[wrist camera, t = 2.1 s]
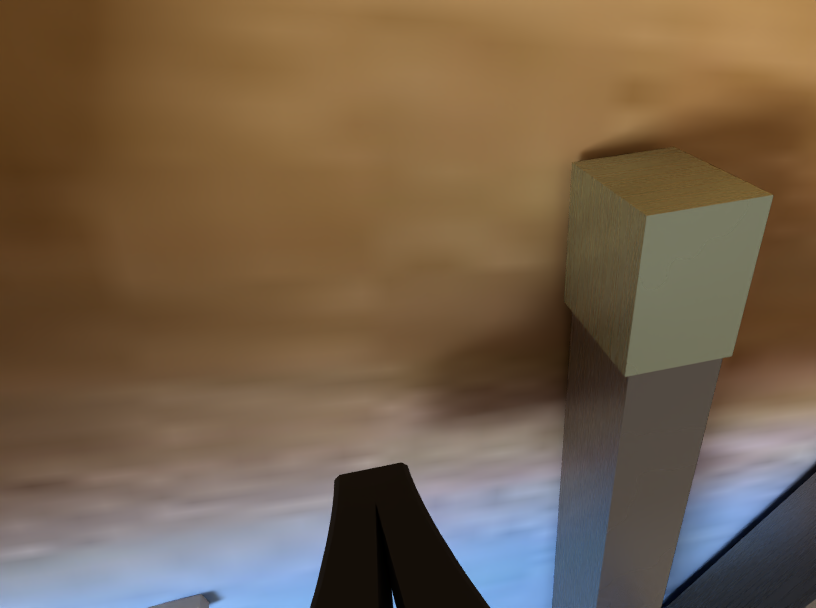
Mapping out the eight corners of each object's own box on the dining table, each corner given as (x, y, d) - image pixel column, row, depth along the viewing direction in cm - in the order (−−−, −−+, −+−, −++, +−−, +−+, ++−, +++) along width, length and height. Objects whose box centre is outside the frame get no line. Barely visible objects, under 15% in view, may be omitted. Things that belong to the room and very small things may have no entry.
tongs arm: (674, 146, 11) (773, 195, 8) (600, 625, 19) (640, 710, 17) (572, 162, 10) (646, 216, 8) (544, 638, 19) (576, 727, 17)
